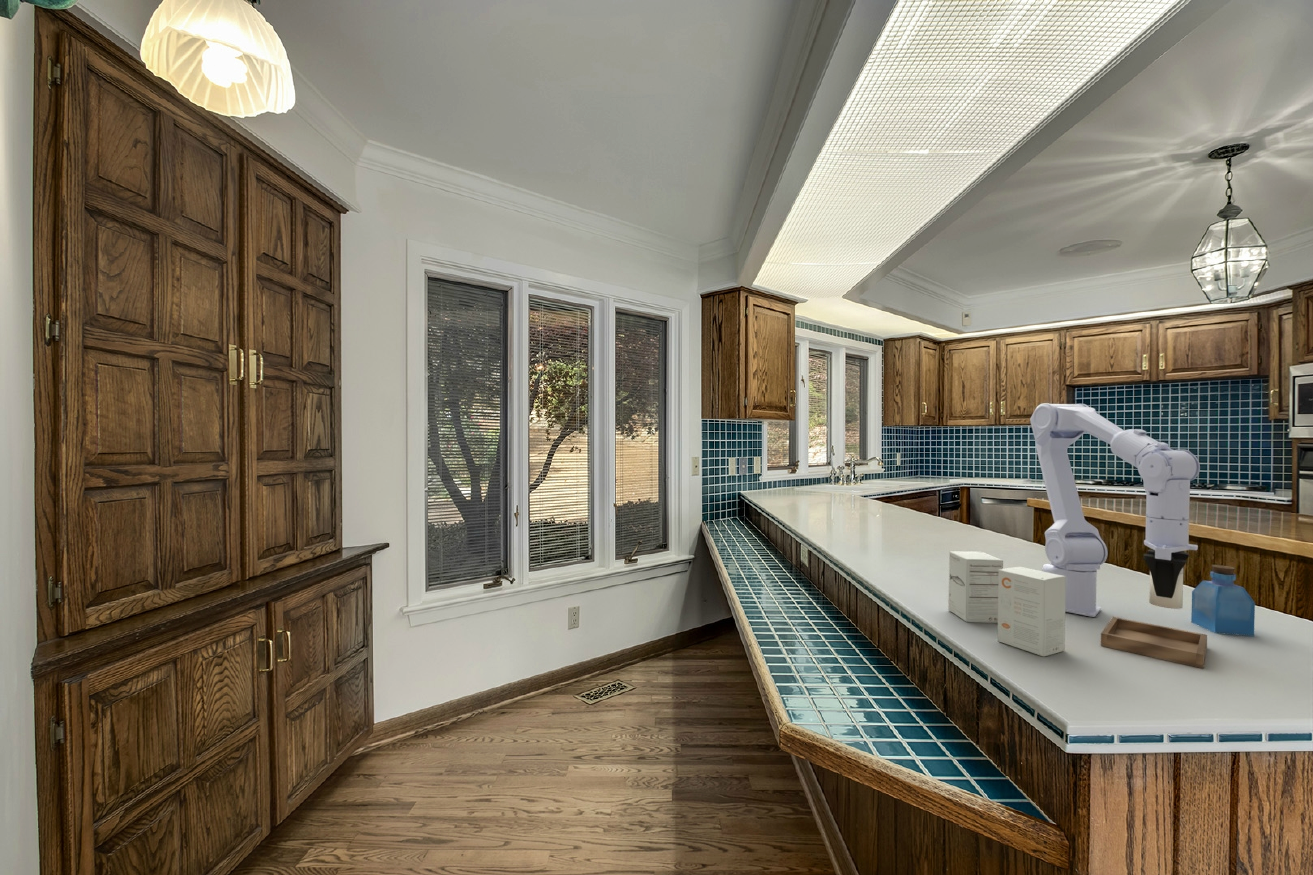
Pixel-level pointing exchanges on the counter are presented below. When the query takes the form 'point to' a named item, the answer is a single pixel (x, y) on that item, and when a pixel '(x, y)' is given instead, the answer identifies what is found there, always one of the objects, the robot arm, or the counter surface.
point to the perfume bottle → (1223, 604)
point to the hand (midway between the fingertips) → (1165, 593)
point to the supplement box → (974, 586)
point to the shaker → (1173, 602)
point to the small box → (1031, 610)
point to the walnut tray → (1155, 641)
